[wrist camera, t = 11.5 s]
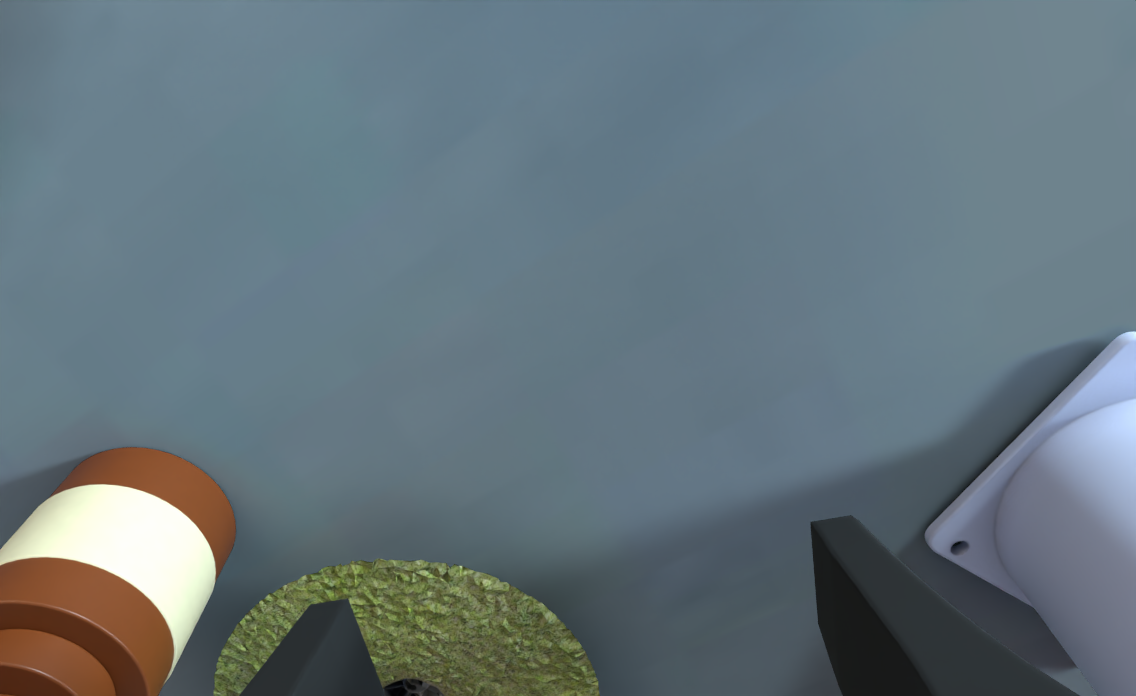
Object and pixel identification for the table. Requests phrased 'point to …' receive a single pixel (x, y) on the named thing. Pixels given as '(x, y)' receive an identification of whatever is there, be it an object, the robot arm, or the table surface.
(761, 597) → the table surface
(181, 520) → the sauce bottle
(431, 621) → the yellow-green flat disc
